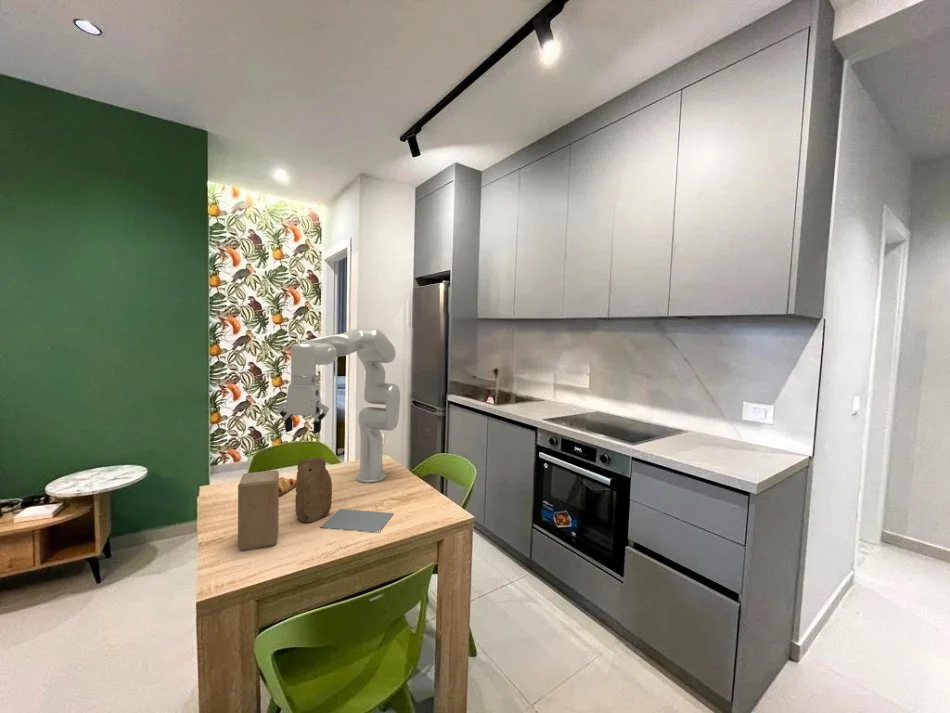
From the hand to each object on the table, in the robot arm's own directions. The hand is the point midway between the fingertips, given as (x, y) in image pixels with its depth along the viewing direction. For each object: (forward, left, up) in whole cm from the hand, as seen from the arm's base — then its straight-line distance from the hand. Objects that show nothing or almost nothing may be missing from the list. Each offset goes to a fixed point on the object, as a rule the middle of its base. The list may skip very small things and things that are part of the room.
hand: (302, 431), depth 131 cm
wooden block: (+14, -5, -31) cm, 34 cm away
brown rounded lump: (-4, +2, -31) cm, 31 cm away
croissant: (-20, -23, -31) cm, 43 cm away
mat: (-4, +18, -30) cm, 36 cm away
